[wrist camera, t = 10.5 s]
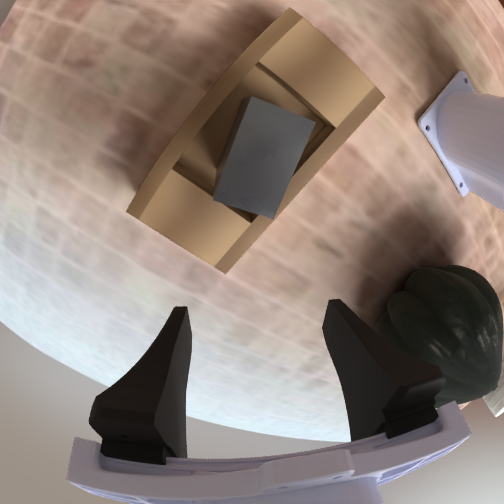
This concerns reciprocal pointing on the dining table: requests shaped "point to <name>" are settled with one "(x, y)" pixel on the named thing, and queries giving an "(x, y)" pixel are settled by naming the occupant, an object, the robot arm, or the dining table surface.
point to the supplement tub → (497, 393)
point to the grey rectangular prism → (260, 156)
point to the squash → (449, 329)
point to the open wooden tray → (220, 123)
